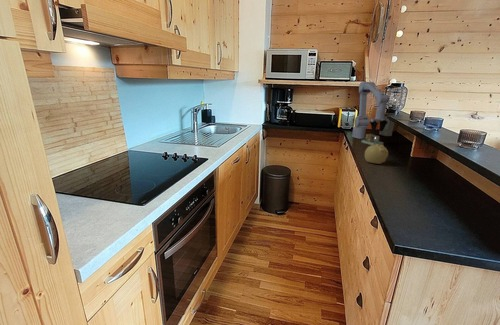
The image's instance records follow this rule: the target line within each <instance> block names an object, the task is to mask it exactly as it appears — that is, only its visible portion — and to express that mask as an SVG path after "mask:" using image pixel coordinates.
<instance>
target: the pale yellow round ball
mask: <svg viewBox="0 0 500 325" xmlns="http://www.w3.org/2000/svg"><path fill="white" fill-rule="evenodd" d="M388 157H389V151H388V149H387V147H386V146H384V144H383V145H379V144H375V145H369V146H367V148H366V149H365V150H364V159H365V161H366V162H368V163H371V164H378V165H381V164H383V163H385V162H386V161H387V158H388Z"/></svg>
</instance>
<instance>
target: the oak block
mask: <svg viewBox="0 0 500 325" xmlns="http://www.w3.org/2000/svg"><path fill="white" fill-rule="evenodd" d="M374 136H375V134H373V133H368V134H367V133H365V137H366V138H365V139H364V140H365V141H368V142H372V143H373V139H374Z"/></svg>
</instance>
